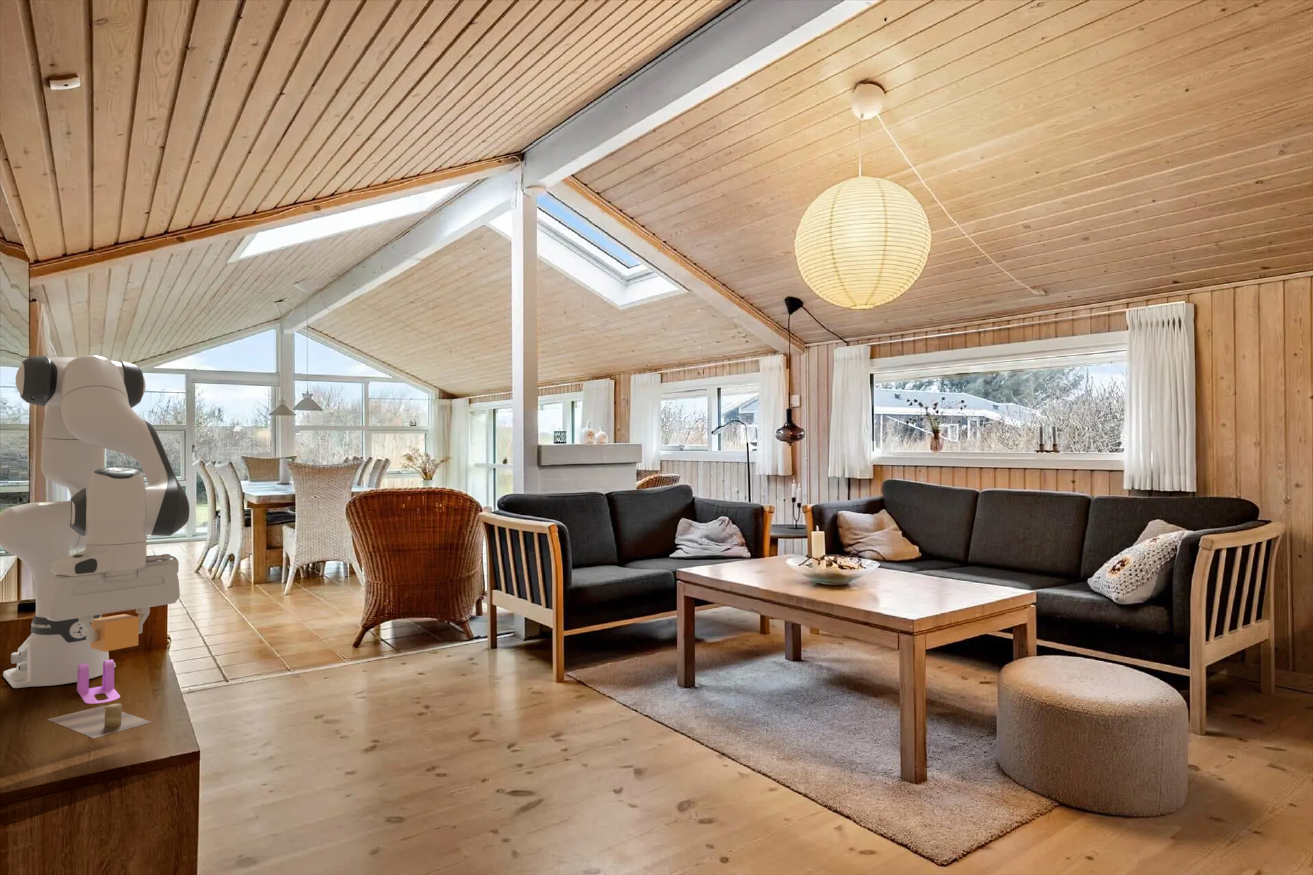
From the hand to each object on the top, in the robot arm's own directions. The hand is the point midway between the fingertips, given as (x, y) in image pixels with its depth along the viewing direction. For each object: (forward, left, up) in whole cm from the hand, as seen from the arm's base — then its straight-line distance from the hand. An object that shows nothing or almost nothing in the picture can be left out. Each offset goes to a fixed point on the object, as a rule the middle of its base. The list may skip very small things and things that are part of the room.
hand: (114, 637), depth 132 cm
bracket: (-22, +7, -17) cm, 29 cm away
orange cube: (0, 0, -2) cm, 2 cm away
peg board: (-5, 0, -17) cm, 17 cm away
